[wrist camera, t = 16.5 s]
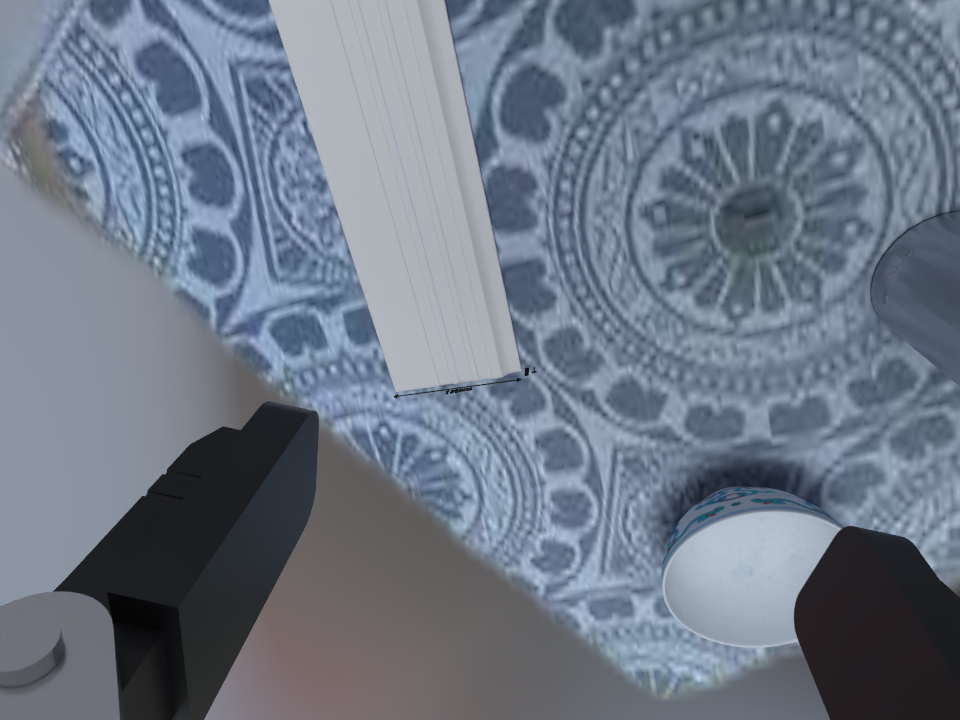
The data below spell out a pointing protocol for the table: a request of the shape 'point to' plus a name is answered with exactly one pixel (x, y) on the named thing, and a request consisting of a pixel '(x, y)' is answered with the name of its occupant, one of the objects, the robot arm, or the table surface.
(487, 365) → the baseboard molding
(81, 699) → the robot arm
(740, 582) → the chinaware
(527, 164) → the table surface
